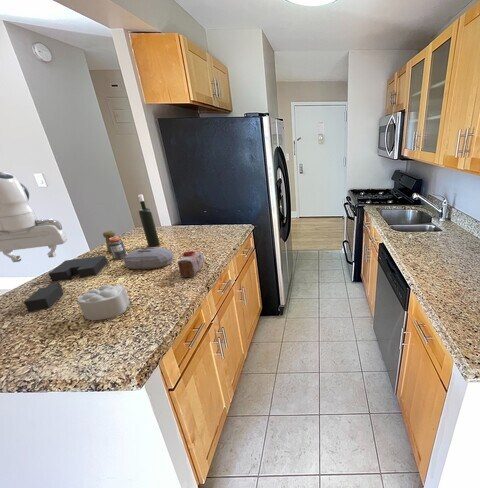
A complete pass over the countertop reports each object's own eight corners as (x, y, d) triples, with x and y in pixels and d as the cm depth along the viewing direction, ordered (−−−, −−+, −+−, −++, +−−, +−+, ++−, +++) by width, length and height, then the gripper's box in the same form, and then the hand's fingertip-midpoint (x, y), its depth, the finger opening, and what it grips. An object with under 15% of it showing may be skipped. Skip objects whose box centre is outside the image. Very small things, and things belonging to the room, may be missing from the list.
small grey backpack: (122, 272, 122) (166, 270, 124) (116, 256, 119) (162, 254, 121) (140, 258, 136) (180, 256, 138) (136, 243, 133) (176, 242, 134)
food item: (189, 264, 129) (185, 246, 125) (206, 263, 130) (202, 245, 126) (179, 278, 116) (174, 258, 113) (197, 276, 118) (193, 257, 114)
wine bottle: (153, 247, 149) (139, 196, 138) (146, 246, 151) (131, 195, 140) (162, 244, 154) (148, 194, 143) (155, 243, 156) (141, 193, 145)
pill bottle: (118, 255, 140) (111, 235, 135) (129, 254, 140) (123, 235, 136) (110, 260, 134) (103, 240, 130) (123, 259, 135) (116, 239, 130)
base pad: (52, 281, 114) (48, 273, 113) (68, 267, 126) (65, 260, 125) (96, 275, 119) (93, 267, 118) (107, 262, 132) (105, 255, 130)
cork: (119, 246, 151) (114, 228, 147) (121, 249, 147) (115, 231, 143) (106, 249, 147) (100, 231, 143) (108, 252, 143) (101, 234, 139)
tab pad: (28, 311, 95) (23, 301, 93) (49, 292, 106) (45, 284, 104) (49, 307, 97) (44, 298, 95) (67, 289, 108) (63, 281, 106)
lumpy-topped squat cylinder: (122, 315, 92) (114, 295, 89) (77, 323, 88) (67, 302, 85) (132, 299, 101) (125, 280, 98) (92, 306, 97) (84, 286, 94)
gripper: (62, 216, 94) (76, 250, 99) (-18, 223, 86) (2, 260, 91) (54, 220, 89) (69, 257, 94) (-32, 228, 81) (-11, 268, 86)
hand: (35, 259), depth 93 cm, fingers open, 8 cm apart
